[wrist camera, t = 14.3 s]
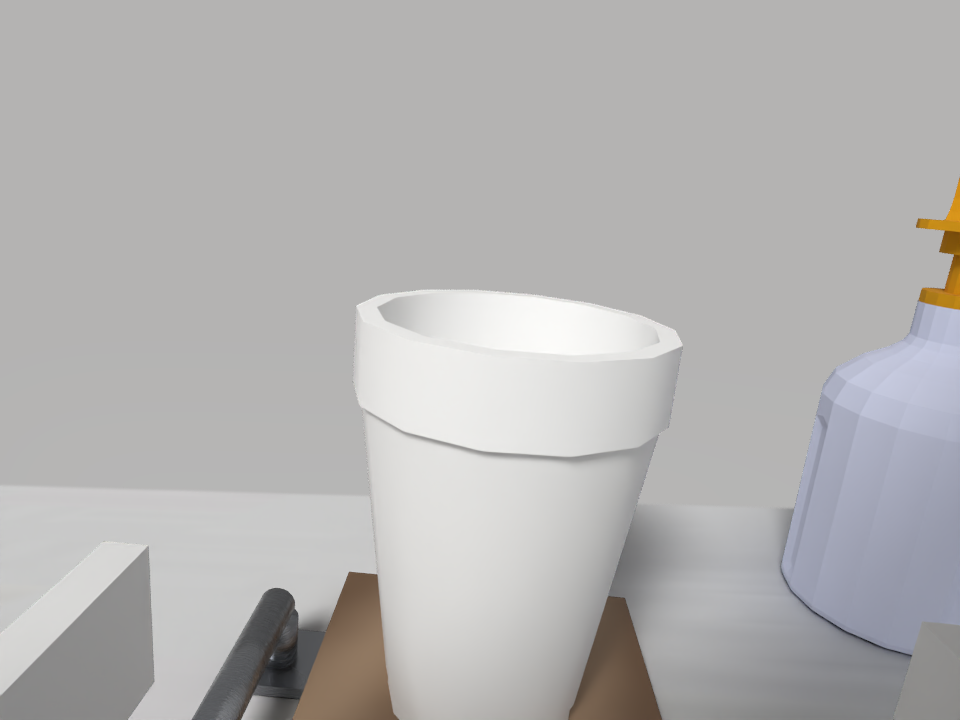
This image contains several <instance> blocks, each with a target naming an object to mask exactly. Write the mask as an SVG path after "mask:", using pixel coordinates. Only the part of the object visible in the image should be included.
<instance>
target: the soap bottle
mask: <svg viewBox="0 0 960 720" xmlns="http://www.w3.org/2000/svg"><path fill="white" fill-rule="evenodd" d="M916 227H917V228H925V229H935V230H945V233H944V236H943V240H942V244H941V247H940V251H939V252H942V253H948V254H954V257H953V261H952V264H951V268H950V272H949V275H948V279H947V282H946V286H945V289H938V288H922V290H921V294H920V298H919V300H918V303H917V306H916V310H915V314H914V318H913V322H912V326H911V329H910V333H909V334H908V335H907V336H906V337H905V338H904V339H903V340H901V341H899V342H897V343H894V344H892V345H890V346H888V347H884V348H880V349H877V350H873V351H869V352H866V353H863V354H861V355H859V356H857V357H855V358H853V359H851V360H849V361H847V362H845V363H843V364H841V365H839V366H837V367H836V368H835V369H834V371H833V372H832V374H831V375H830V376H829V378H828V379H827V380H826V382H825V383H824V385H823V388H822V393H821V397H820V401H819V406H818V410H817V414H816V418H815V422H814V427H813V431H812V436H811V440H810V444H809V448H808V452H807V457H806V461H805V465H804V470H803V474H802V478H801V482H800V487H799V491H798V495H797V500H796V504H795V508H794V512H793V517H792V521H791V525H790V529H789V534H788V538H787V542H786V546H785V551H784V555H783V559H782V564H781V569H782V573H783V575H784V577H785V579H786V581H787V583H788V585H789V587H790V589H791V590H792V591H793V592H794V593H795V594H796V595H797V596H798V597H799V598H800V599H801V600H802V601H803V602H804V603H805V604H806V605H807V606H808V607H809V608H811V609H812V610H813V611H814V612H816V613H818V614H819V615H821V616H822V617H824V618H826V619H827V620H829V621H830V622H832V623H833V624H835V625H837V626H838V627H840V628H841V629H843V630H845V631H847V632H849V633H852V634H854V635H856V636H858V637H861V638H863V639H865V640H868V641H870V642H872V643H875V644H877V645H879V646H882V647H884V648H887V649H891V650H895V651H898V652H902V653H906V654H910V655H912V654H913V650H914V647H915V644H916V640H917V637H918V634H919V630H920V627H921V624H922V621H923V622H934V623H944V624H954V625H960V178H959V182H958V186H957V190H956V194H955V197H954V200H953V203H952V206H951V209H950V211H949V214H948V215H947V217H946V219H945V220H943V221H942V220H931V219H918V222H917V225H916Z"/></svg>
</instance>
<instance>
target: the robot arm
mask: <svg viewBox="0 0 960 720" xmlns="http://www.w3.org/2000/svg"><path fill="white" fill-rule="evenodd" d="M153 683H154V660H153V637H152V614H151V590H150V567H149V545H139V544H129V543H119V542H108V541H103V542H102V543H101V544H100V545H99V546H98V547H97V548H96V549H94V550H93V551H92V552H91V553H90V554H89V555H88V556H87V557H85V558H84V559H83V560H82V561H81V562H80V563H79V564H78V565H76V566H75V567H74V568H73V569H72V570H71V571H70V572H69V573H67V574H66V575H65V576H64V577H63V578H62V579H61V580H60V581H59V582H57V583H56V584H55V585H54V586H53V587H52V588H51V589H50V590H48V591H47V592H46V593H45V594H44V595H43V596H42V597H41V598H39V599H38V600H37V601H36V602H35V603H34V604H33V605H32V606H30V607H29V608H28V609H27V610H26V611H25V612H24V613H23V614H21V615H20V616H19V617H18V618H17V619H16V620H15V621H14V622H12V623H11V624H10V625H9V626H8V627H7V628H6V629H5V630H3V631H2V632H1V633H0V720H128V718H129V717H130V716H131V714H132V713H133V711H134V710H135V709H136V707H137V706H138V704H139V703H140V701H141V700H142V699H143V697H144V696H145V694H146V693H147V691H148V690H149V689H150V687H151V686H152V684H153ZM893 720H960V625H954V624H944V623H934V622H923V621H922V624H921V627H920V630H919V634H918V637H917V640H916V644H915V647H914V650H913V654H912V657H911V660H910V664H909V667H908V670H907V674H906V677H905V680H904V684H903V687H902V690H901V694H900V697H899V700H898V704H897V707H896V710H895V714H894V717H893Z"/></svg>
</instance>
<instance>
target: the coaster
mask: <svg viewBox="0 0 960 720" xmlns="http://www.w3.org/2000/svg"><path fill="white" fill-rule="evenodd" d="M292 720H399V719H398V718H397V717H396V715H395V714H394V713H393V708H392V702H391V696H390V691H389V685H388V675H387V669H386V662H385V651H384V640H383V629H382V618H381V607H380V596H379V586H378V575H377V574H367V573H356V572H349V573H348V576H347V579H346V581H345V584H344V586H343V589H342V592H341V594H340V597H339V599H338V602H337V605H336V607H335V610H334V612H333V615H332V618H331V620H330V623H329V625H328V628H327V631H326V633H325V636H324V638H323V641H322V644H321V646H320V649H319V651H318V654H317V657H316V659H315V662H314V664H313V667H312V670H311V672H310V675H309V677H308V680H307V683H306V685H305V688H304V690H303V693H302V696H301V698H300V701H299V703H298V706H297V709H296V711H295V714H294V716H293V719H292ZM568 720H662V718H661V715H660V712H659V709H658V705H657V702H656V699H655V696H654V692H653V689H652V686H651V682H650V679H649V676H648V673H647V669H646V666H645V663H644V659H643V656H642V653H641V650H640V646H639V643H638V640H637V637H636V633H635V630H634V627H633V623H632V620H631V617H630V614H629V610H628V607H627V604H626V600H625V598H620V597H609V596H608V598H607V601H606V604H605V607H604V610H603V613H602V617H601V620H600V623H599V626H598V629H597V632H596V636H595V639H594V642H593V645H592V648H591V651H590V655H589V658H588V661H587V664H586V667H585V670H584V673H583V677H582V680H581V683H580V686H579V689H578V692H577V696H576V699H575V702H574V705H573V706H572V708H571V709H570V711H569V718H568Z"/></svg>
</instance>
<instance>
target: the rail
mask: <svg viewBox="0 0 960 720" xmlns="http://www.w3.org/2000/svg"><path fill="white" fill-rule="evenodd" d="M294 608H295V601H294V598H293V596H292V595H291V594H290V593H289V592H288V591H286V590H284V589H281V588H273V589H270V590H268V591H266V592H265V593H264V594H263V596H262V598H261V600H260V601H259V603H258V605H257V607H256V608H255V610H254V612H253V614H252V615H251V617H250V619H249V621H248V622H247V624H246V626H245V628H244V629H243V631H242V633H241V635H240V636H239V638H238V640H237V642H236V643H235V645H234V647H233V649H232V650H231V652H230V654H229V655H228V657H227V659H226V661H225V662H224V664H223V666H222V668H221V669H220V671H219V673H218V675H217V676H216V678H215V680H214V682H213V683H212V685H211V687H210V689H209V690H208V692H207V694H206V696H205V697H204V699H203V701H202V703H201V704H200V706H199V708H198V710H197V711H196V713H195V715H194V717H193V718H192V720H241V719H242V716H243V714H244V712H245V710H246V708H247V706H248V704H249V702H250V700H251V698H252V696H253V695H262V696H273V697H283V698H294V699H300V698H301V696H302V693H303V690H304V688H305V685H306V683H307V680H308V677H309V675H310V672H311V670H312V667H313V664H314V662H315V659H316V657H317V654H318V651H319V649H320V646H321V644H322V641H323V638H324V636H325V633H326V632H319V631H308V630H298V612H297V611H296V610H295V609H294Z"/></svg>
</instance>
